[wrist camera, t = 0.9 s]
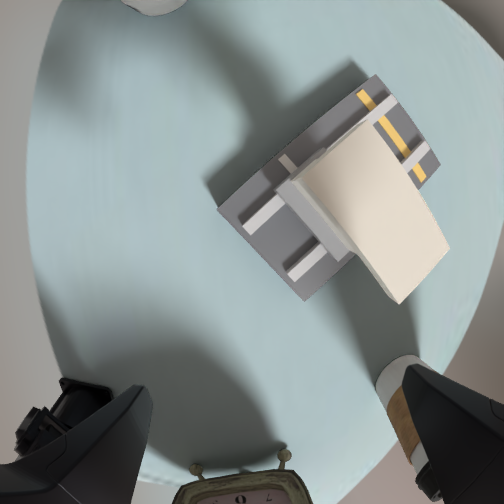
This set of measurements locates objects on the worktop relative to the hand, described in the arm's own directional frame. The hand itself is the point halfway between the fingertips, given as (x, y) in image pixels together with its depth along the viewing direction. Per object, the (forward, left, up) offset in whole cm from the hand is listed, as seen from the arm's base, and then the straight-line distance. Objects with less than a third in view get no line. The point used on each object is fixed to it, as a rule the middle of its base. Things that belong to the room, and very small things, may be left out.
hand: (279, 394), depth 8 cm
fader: (+4, +6, -11) cm, 13 cm away
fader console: (+6, +7, -14) cm, 17 cm away
